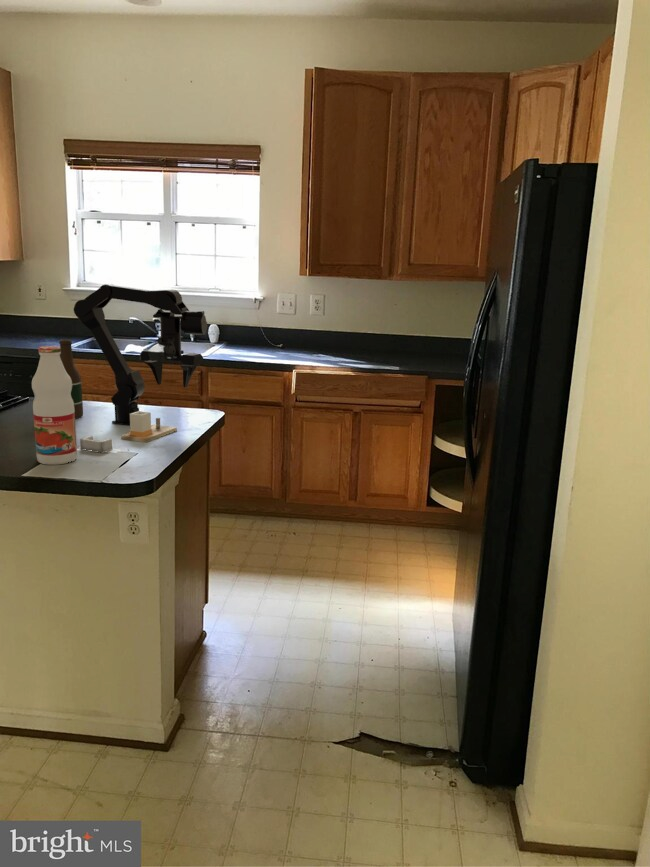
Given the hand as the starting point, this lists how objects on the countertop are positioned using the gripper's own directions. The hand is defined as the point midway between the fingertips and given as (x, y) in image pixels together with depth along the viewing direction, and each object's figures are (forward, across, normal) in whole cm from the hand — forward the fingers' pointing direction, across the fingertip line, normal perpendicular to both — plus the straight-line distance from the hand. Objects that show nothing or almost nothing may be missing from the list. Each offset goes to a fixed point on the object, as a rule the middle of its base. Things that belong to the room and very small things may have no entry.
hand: (172, 385), depth 207 cm
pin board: (+12, +1, -13) cm, 18 cm away
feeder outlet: (+12, -2, -32) cm, 34 cm away
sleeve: (+11, +1, -17) cm, 20 cm away
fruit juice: (+12, -4, -44) cm, 46 cm away
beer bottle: (+12, -34, -6) cm, 37 cm away
